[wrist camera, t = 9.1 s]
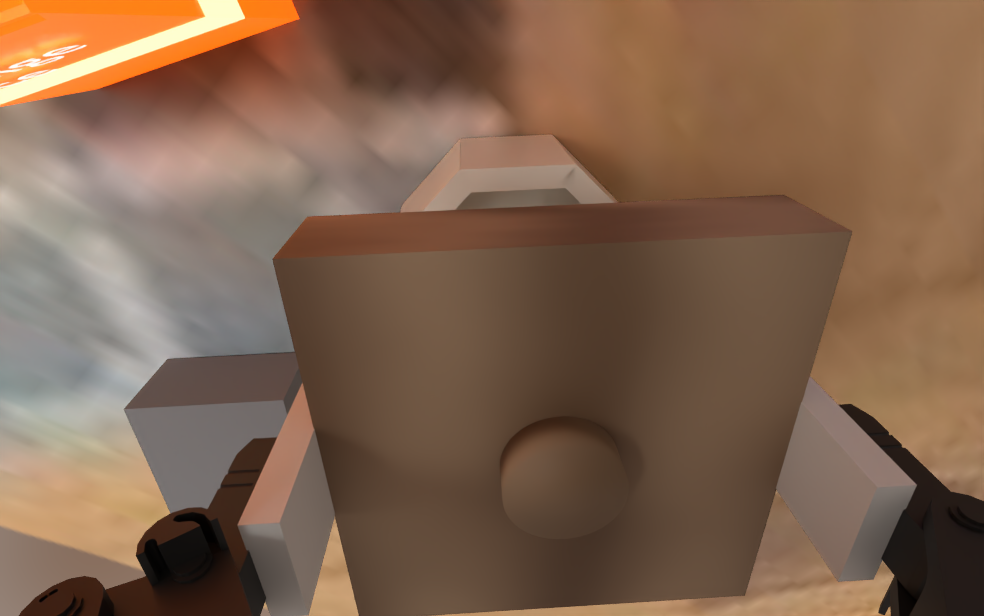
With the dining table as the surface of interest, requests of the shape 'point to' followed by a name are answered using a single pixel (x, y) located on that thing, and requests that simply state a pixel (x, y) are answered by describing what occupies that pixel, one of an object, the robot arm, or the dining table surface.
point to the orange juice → (115, 39)
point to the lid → (556, 393)
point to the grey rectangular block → (209, 418)
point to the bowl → (506, 176)
